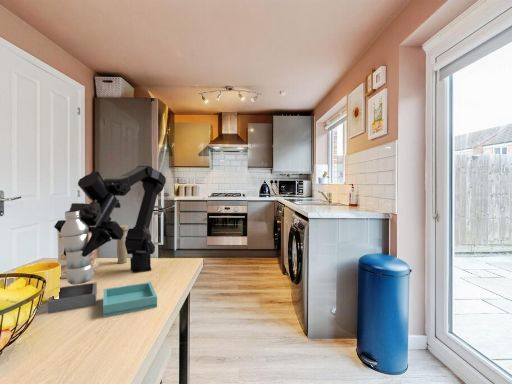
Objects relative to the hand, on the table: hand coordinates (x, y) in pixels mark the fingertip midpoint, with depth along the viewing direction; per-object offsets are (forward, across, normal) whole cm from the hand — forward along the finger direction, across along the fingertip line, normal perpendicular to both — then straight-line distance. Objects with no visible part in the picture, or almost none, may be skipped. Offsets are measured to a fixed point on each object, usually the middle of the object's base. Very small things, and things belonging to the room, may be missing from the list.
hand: (74, 255), depth 79 cm
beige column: (-18, -13, +38) cm, 44 cm away
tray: (+7, +14, +12) cm, 20 cm away
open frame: (+8, -2, +10) cm, 13 cm away
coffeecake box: (-8, -21, +28) cm, 36 cm away
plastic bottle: (+4, 0, +7) cm, 8 cm away
